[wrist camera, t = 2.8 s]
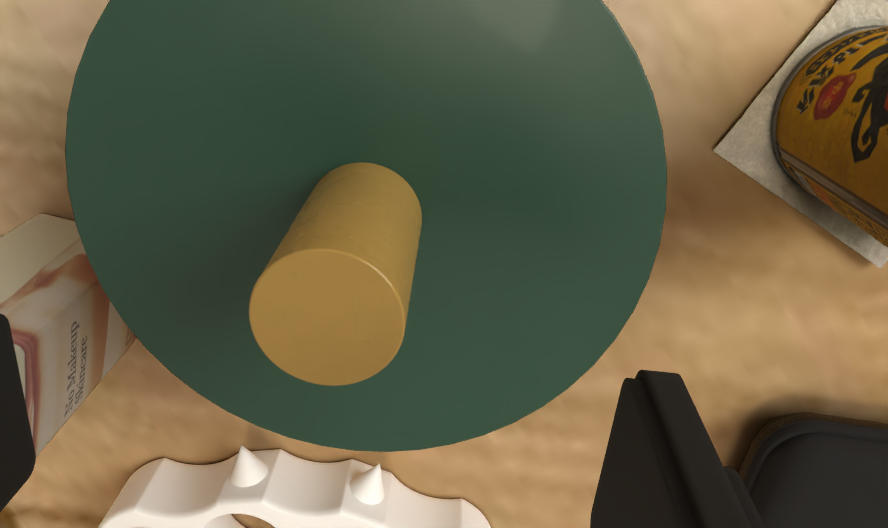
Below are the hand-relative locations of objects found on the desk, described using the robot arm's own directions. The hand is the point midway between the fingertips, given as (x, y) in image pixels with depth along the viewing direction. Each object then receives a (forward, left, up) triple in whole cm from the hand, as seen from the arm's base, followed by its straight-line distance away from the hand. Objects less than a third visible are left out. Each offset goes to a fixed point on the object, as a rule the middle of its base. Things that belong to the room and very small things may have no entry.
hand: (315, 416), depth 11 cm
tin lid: (0, 0, -9) cm, 9 cm away
